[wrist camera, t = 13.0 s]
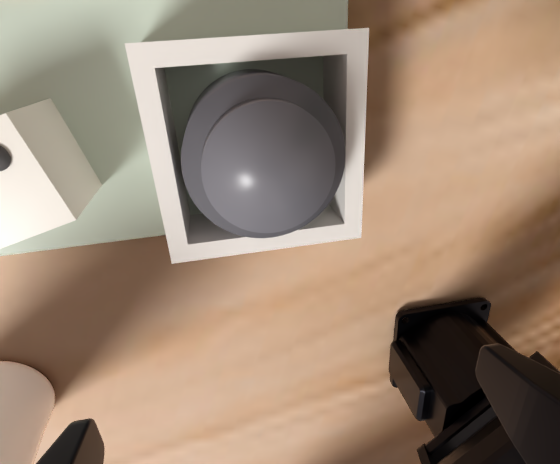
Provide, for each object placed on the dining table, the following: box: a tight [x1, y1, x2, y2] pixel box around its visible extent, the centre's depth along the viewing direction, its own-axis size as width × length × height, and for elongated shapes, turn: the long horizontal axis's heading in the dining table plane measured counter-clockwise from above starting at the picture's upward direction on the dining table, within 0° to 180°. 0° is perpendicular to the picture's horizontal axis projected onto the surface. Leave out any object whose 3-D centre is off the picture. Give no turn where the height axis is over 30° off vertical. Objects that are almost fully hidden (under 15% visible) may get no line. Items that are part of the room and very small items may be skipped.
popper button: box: [181, 69, 346, 238], centre depth 15 cm, size 6×6×5 cm
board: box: [0, 0, 369, 264], centre depth 15 cm, size 18×16×4 cm
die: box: [0, 98, 102, 249], centre depth 15 cm, size 4×4×4 cm
